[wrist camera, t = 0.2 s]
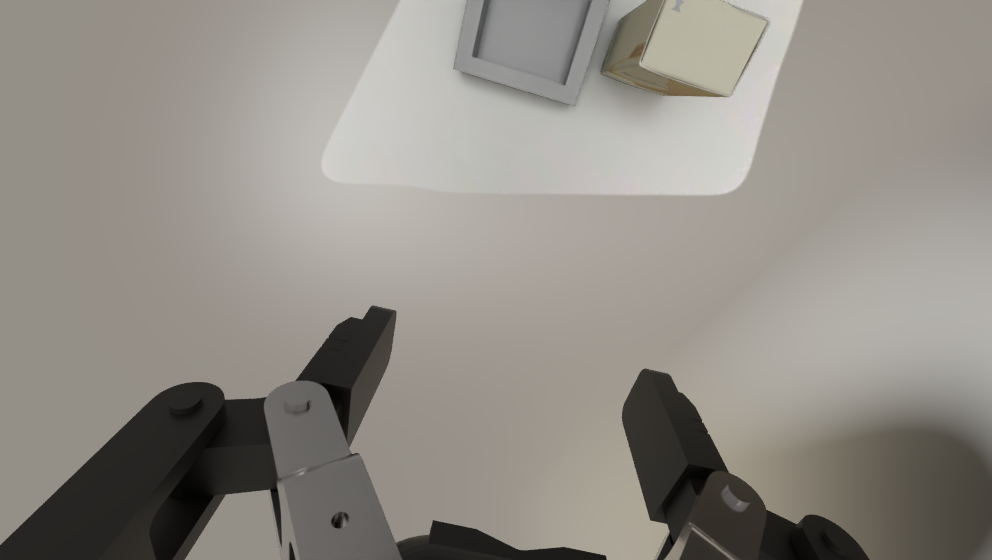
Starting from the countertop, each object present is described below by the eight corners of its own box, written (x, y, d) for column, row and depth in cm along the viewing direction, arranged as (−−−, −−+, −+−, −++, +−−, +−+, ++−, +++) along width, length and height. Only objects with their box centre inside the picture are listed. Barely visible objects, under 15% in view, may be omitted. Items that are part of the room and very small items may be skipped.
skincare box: (598, 74, 35) (631, 65, 24) (619, 16, 33) (666, -22, 22) (668, 98, 35) (732, 100, 24) (693, 42, 33) (775, 17, 22)
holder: (490, -70, 31) (485, -91, 28) (613, -30, 32) (624, -46, 28) (461, 71, 35) (453, 69, 32) (569, 104, 36) (574, 106, 32)
